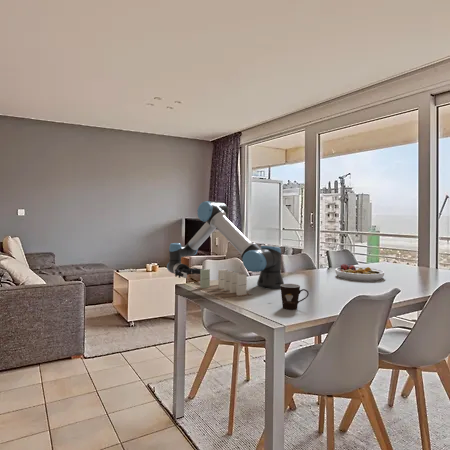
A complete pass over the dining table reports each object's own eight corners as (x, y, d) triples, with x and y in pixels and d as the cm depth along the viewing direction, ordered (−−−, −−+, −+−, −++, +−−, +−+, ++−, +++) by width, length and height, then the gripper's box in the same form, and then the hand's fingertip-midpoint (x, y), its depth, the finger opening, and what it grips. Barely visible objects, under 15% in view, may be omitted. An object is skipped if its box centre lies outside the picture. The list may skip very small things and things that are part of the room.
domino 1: (200, 287, 201) (200, 269, 201) (208, 286, 204) (208, 269, 204) (201, 288, 200) (201, 270, 200) (209, 287, 203) (209, 269, 202)
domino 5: (236, 294, 185) (236, 275, 185) (244, 293, 188) (244, 274, 187) (238, 295, 184) (238, 275, 183) (246, 294, 186) (246, 274, 186)
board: (194, 288, 203) (194, 287, 203) (221, 285, 212) (221, 284, 212) (223, 300, 176) (223, 298, 176) (252, 296, 185) (252, 294, 185)
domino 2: (218, 288, 200) (218, 270, 200) (226, 287, 203) (226, 269, 203) (219, 288, 199) (219, 270, 199) (227, 287, 202) (227, 269, 201)
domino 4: (230, 292, 190) (230, 273, 190) (238, 291, 193) (238, 272, 193) (231, 293, 189) (231, 273, 189) (239, 292, 192) (240, 272, 191)
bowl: (393, 279, 237) (393, 267, 237) (365, 284, 220) (365, 271, 220) (353, 272, 262) (354, 261, 262) (325, 276, 245) (325, 264, 245)
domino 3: (224, 290, 195) (224, 271, 195) (232, 289, 198) (232, 270, 198) (225, 290, 194) (225, 272, 194) (233, 289, 197) (233, 271, 196)
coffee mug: (276, 307, 163) (276, 285, 163) (287, 304, 170) (287, 282, 169) (299, 313, 155) (299, 289, 155) (309, 309, 162) (309, 286, 161)
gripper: (199, 274, 234) (216, 279, 216) (162, 277, 221) (177, 283, 203) (199, 262, 234) (216, 266, 216) (162, 265, 221) (177, 270, 203)
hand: (197, 274), depth 210 cm, fingers open, 13 cm apart
